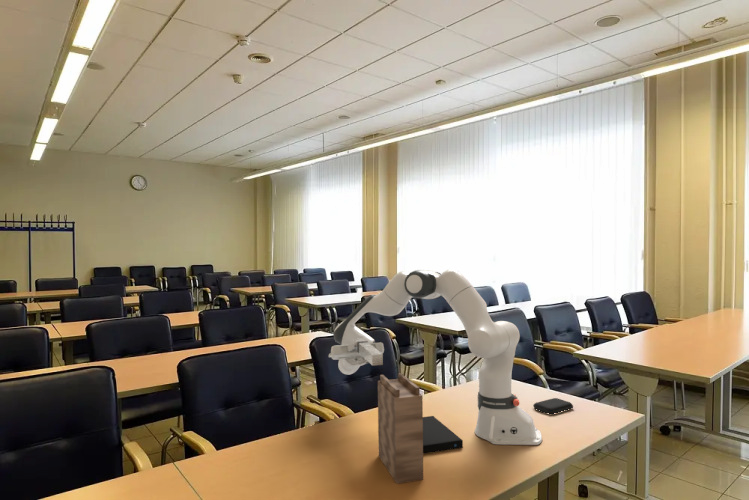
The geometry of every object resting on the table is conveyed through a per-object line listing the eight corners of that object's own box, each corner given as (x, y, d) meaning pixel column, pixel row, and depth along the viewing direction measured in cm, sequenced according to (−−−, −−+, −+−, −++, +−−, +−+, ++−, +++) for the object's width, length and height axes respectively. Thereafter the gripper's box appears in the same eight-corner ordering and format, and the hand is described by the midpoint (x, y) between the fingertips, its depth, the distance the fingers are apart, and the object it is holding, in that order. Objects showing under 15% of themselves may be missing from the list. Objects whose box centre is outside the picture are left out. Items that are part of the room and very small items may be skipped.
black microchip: (553, 402, 199) (529, 409, 191) (553, 395, 199) (529, 401, 191) (575, 410, 189) (550, 417, 182) (575, 402, 189) (550, 409, 182)
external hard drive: (433, 423, 177) (433, 415, 177) (462, 449, 155) (462, 439, 155) (398, 428, 173) (397, 420, 173) (422, 455, 150) (422, 445, 150)
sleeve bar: (353, 348, 177) (353, 338, 177) (363, 347, 178) (363, 337, 178) (371, 366, 152) (371, 354, 152) (383, 365, 153) (383, 353, 153)
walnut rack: (378, 456, 149) (377, 374, 149) (402, 452, 151) (401, 372, 151) (396, 483, 132) (395, 391, 132) (423, 479, 134) (422, 388, 134)
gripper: (327, 349, 183) (332, 337, 172) (377, 346, 189) (386, 334, 177) (328, 365, 181) (334, 354, 169) (379, 361, 186) (388, 350, 174)
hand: (361, 344), depth 173 cm, fingers closed on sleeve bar, 3 cm apart
